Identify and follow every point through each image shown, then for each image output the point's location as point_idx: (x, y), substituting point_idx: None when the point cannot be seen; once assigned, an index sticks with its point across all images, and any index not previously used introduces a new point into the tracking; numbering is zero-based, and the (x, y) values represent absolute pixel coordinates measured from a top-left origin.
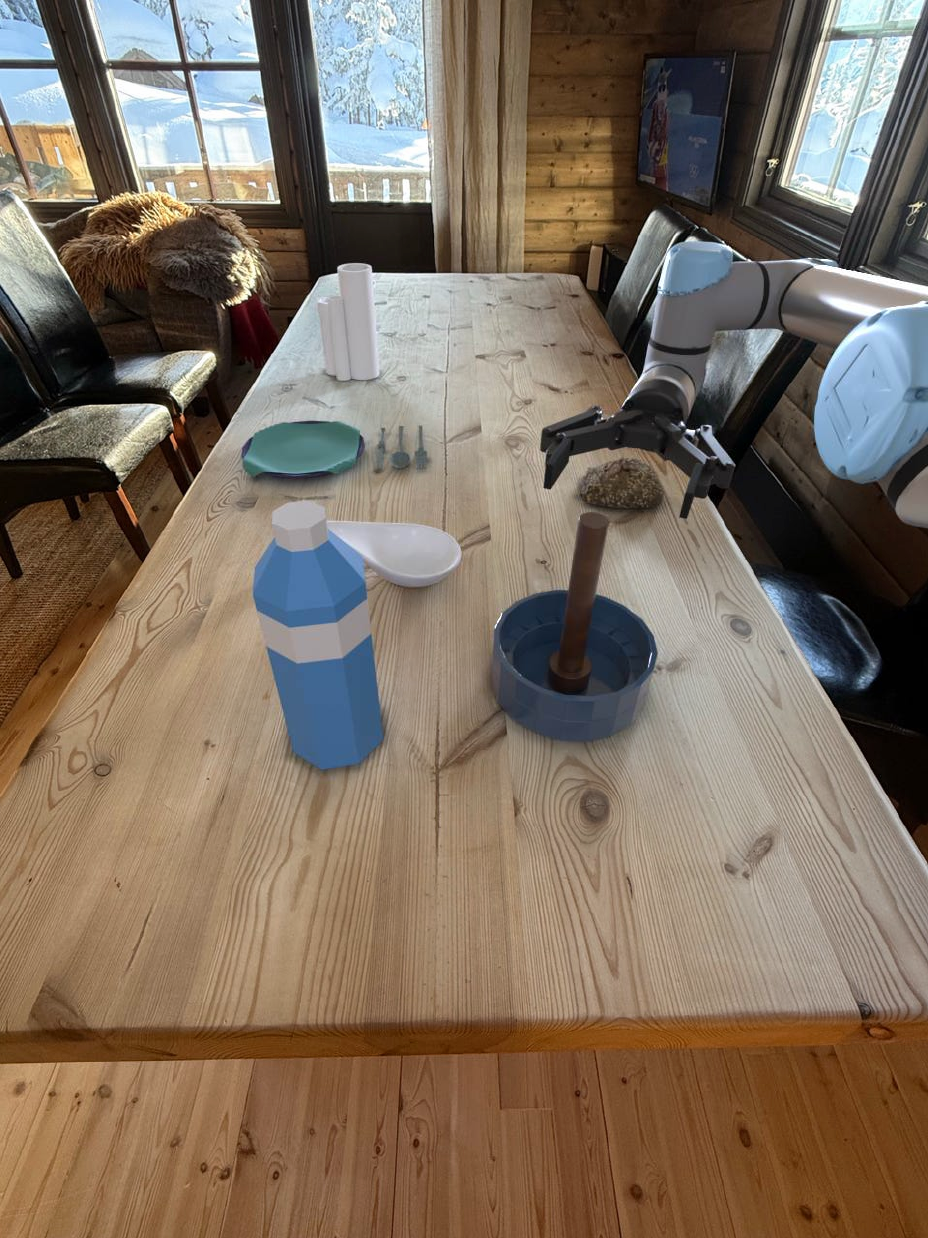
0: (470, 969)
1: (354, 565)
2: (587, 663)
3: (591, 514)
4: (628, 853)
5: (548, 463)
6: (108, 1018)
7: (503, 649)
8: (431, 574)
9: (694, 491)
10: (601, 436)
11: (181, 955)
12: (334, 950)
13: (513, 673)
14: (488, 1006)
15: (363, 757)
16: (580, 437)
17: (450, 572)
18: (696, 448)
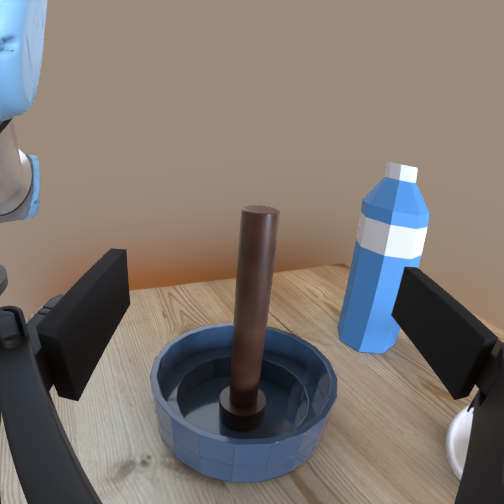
0: (227, 286)
1: (378, 197)
2: (225, 403)
3: (267, 211)
4: (165, 324)
5: (414, 268)
6: (326, 266)
7: (313, 385)
8: (463, 460)
9: (106, 253)
10: (485, 468)
11: (325, 275)
12: (280, 283)
13: (280, 330)
14: (216, 282)
15: (338, 327)
16: (499, 390)
17: (446, 451)
18: (10, 432)
